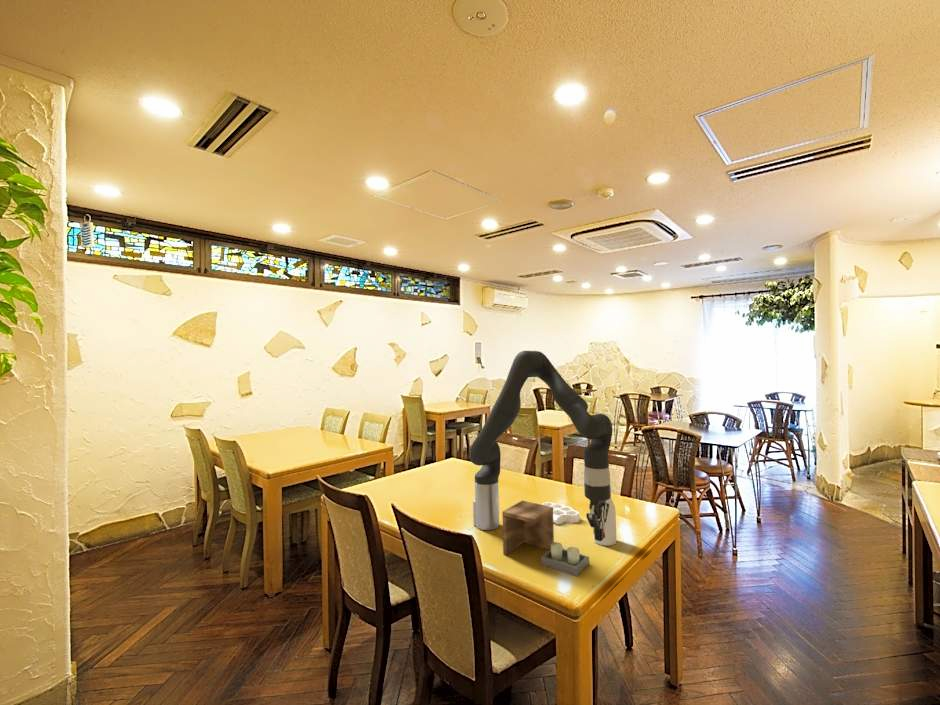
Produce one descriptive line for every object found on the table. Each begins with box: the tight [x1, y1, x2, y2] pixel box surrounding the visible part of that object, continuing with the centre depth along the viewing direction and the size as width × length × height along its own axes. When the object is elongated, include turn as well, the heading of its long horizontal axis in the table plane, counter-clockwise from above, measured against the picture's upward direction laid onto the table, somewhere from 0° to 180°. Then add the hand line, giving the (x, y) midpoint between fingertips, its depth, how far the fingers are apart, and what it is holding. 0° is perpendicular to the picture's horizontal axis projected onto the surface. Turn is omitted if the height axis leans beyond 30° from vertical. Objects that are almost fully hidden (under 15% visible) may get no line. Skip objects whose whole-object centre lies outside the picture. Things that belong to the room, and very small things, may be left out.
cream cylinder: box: [551, 541, 563, 562], centre depth 133 cm, size 4×4×5 cm
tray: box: [540, 548, 590, 577], centre depth 131 cm, size 12×9×3 cm
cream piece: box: [566, 546, 580, 566], centre depth 130 cm, size 4×4×5 cm
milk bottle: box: [592, 497, 617, 547], centre depth 147 cm, size 8×8×20 cm
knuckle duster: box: [541, 501, 580, 525], centre depth 171 cm, size 3×18×15 cm
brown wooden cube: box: [502, 500, 555, 556], centre depth 141 cm, size 12×13×14 cm
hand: (599, 539), depth 125 cm, fingers closed
